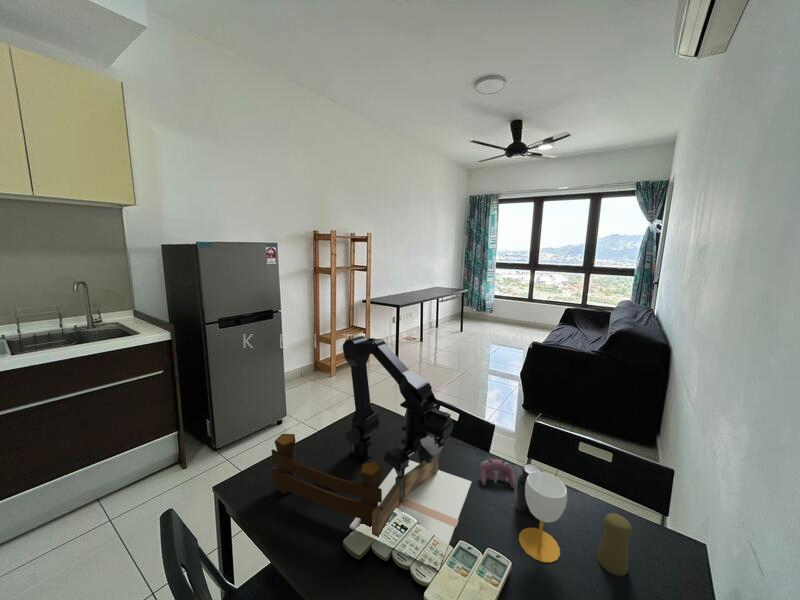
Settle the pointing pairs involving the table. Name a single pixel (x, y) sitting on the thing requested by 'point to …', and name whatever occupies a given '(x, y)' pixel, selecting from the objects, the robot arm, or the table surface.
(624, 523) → the cork
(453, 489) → the card
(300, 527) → the table surface
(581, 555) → the table surface
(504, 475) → the video game controller
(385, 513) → the fence fixed section
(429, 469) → the fence panel
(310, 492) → the decorative fence
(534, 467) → the supplement bottle
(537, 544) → the cup
